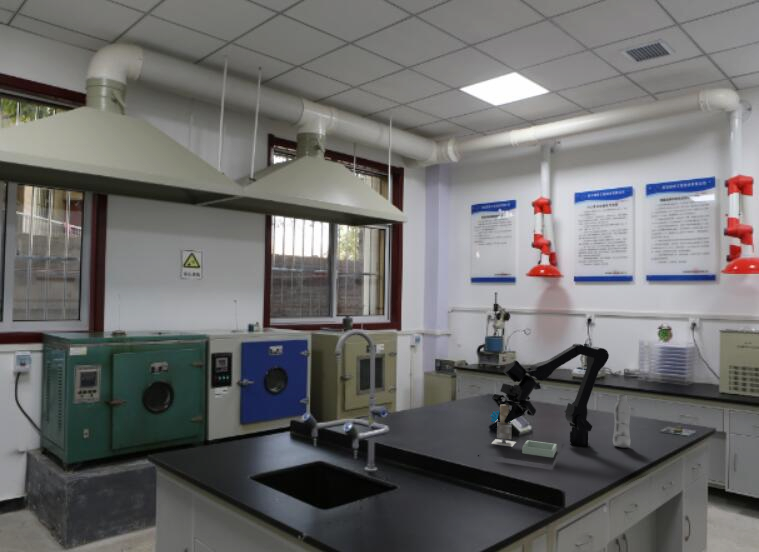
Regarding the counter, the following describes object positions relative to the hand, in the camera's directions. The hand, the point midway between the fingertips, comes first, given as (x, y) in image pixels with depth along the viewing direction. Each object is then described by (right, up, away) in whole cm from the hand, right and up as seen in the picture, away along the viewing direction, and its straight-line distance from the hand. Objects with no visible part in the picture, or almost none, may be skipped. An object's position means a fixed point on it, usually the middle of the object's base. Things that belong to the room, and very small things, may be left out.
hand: (501, 421), depth 213 cm
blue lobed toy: (+6, -11, +29) cm, 32 cm away
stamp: (+1, -6, 0) cm, 6 cm away
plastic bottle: (+48, -12, +7) cm, 50 cm away
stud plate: (+1, -10, 0) cm, 10 cm away
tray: (+11, -10, -11) cm, 18 cm away
